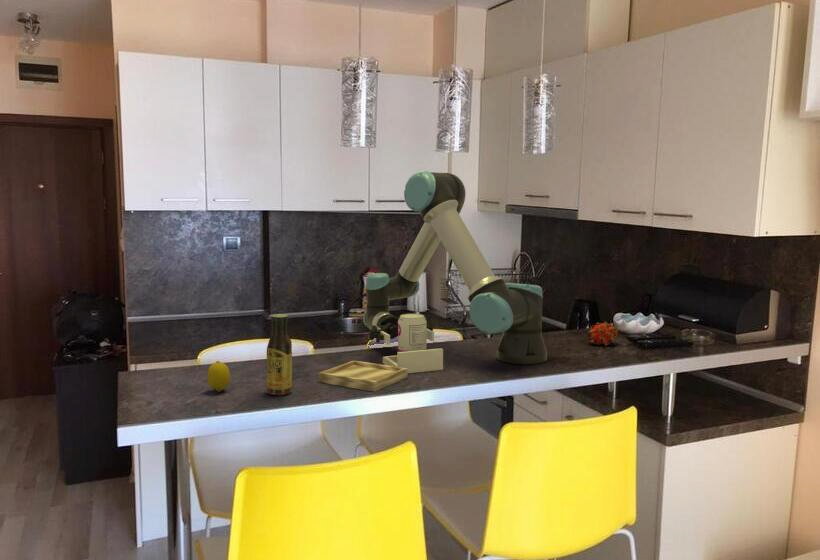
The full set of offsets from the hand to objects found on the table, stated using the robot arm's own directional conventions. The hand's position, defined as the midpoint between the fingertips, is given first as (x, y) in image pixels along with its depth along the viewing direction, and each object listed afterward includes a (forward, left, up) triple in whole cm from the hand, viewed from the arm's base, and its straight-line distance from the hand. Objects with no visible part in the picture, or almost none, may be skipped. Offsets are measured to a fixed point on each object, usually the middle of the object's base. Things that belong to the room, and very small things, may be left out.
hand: (411, 338), depth 192 cm
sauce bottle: (+15, +40, -9) cm, 43 cm away
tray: (+4, +19, -8) cm, 21 cm away
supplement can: (0, 0, -9) cm, 9 cm away
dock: (0, 0, -8) cm, 8 cm away
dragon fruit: (-40, -57, -9) cm, 70 cm away
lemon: (+29, +47, -9) cm, 56 cm away
